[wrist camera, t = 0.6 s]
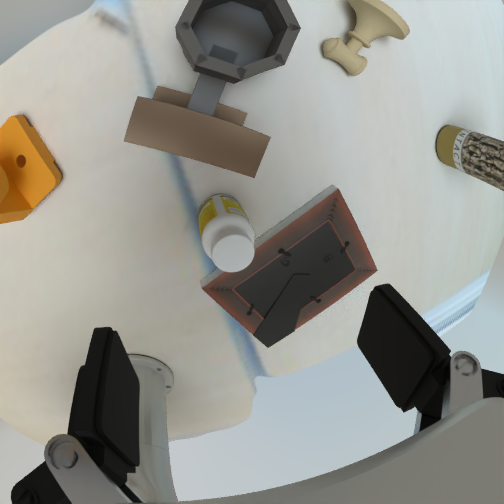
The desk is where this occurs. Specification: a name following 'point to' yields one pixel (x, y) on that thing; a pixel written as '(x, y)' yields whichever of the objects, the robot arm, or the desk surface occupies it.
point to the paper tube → (472, 154)
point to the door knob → (365, 33)
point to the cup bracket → (217, 82)
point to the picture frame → (295, 270)
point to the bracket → (23, 170)
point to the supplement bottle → (226, 233)
